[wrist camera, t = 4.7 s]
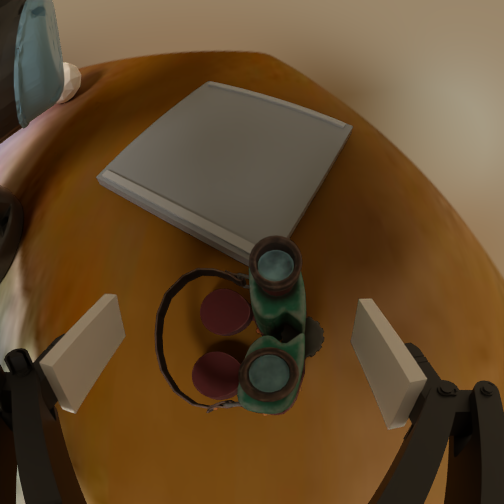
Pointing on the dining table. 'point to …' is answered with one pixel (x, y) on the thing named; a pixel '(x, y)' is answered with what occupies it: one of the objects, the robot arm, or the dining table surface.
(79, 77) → the geometric ball
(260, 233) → the slate board
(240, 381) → the binoculars
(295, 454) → the dining table surface
